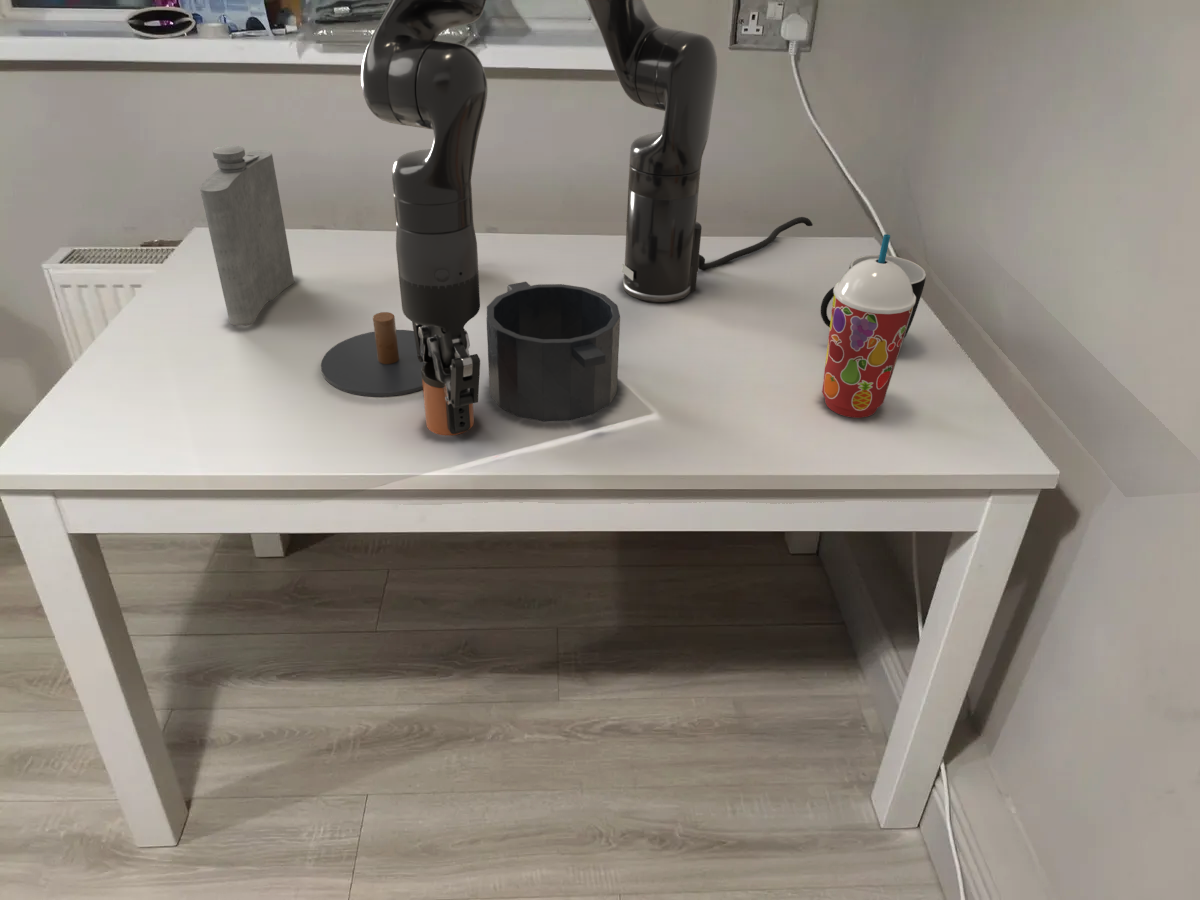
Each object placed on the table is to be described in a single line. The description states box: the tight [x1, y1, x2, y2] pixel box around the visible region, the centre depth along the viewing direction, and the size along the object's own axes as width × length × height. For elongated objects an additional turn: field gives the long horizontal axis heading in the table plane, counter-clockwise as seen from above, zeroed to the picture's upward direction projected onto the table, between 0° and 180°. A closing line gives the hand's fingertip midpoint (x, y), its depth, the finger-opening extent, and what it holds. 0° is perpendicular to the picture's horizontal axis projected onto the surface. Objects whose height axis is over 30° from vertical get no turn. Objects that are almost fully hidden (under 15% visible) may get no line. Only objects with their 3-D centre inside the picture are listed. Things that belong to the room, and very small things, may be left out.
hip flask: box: [199, 144, 295, 327], centre depth 115 cm, size 16×4×20 cm, turn 175°
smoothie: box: [821, 233, 916, 419], centre depth 97 cm, size 8×8×20 cm
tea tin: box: [421, 361, 475, 436], centre depth 95 cm, size 5×5×7 cm
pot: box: [485, 281, 621, 422], centre depth 101 cm, size 14×20×10 cm
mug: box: [820, 254, 927, 341], centre depth 112 cm, size 12×9×10 cm
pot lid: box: [320, 311, 423, 398], centre depth 105 cm, size 15×15×7 cm
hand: (449, 416), depth 96 cm, fingers closed on tea tin, 5 cm apart
